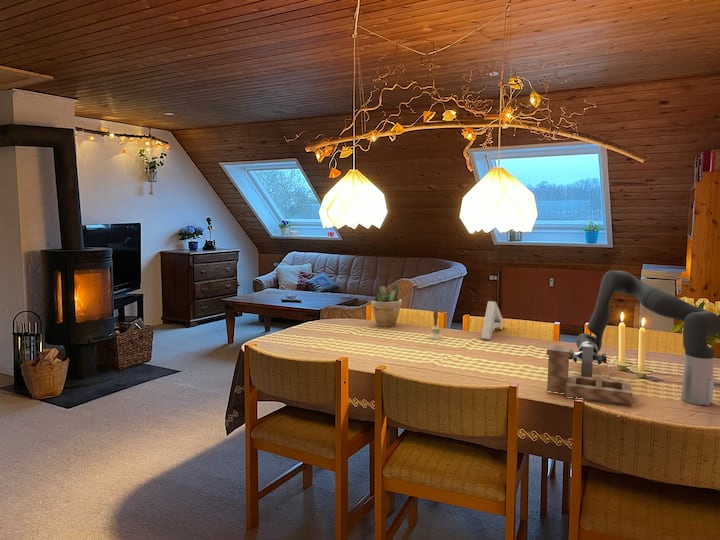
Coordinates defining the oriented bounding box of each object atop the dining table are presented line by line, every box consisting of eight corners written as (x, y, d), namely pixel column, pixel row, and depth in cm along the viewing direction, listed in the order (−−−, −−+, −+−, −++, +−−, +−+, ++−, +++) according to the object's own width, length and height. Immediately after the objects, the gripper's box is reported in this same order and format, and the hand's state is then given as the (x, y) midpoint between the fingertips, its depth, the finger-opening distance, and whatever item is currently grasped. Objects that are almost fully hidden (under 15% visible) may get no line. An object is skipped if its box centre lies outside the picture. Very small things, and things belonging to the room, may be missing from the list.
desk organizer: (629, 394, 211) (632, 351, 209) (631, 406, 198) (634, 360, 196) (547, 384, 223) (549, 343, 221) (544, 395, 210) (546, 351, 208)
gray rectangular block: (591, 383, 225) (593, 344, 223) (591, 386, 220) (593, 347, 219) (581, 381, 227) (582, 343, 225) (580, 385, 222) (582, 346, 220)
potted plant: (388, 330, 320) (388, 287, 318) (364, 325, 333) (364, 284, 330) (407, 325, 334) (407, 284, 331) (383, 320, 346) (383, 281, 344)
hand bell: (445, 339, 299) (445, 309, 298) (430, 339, 298) (431, 310, 296) (439, 335, 307) (440, 307, 306) (425, 336, 306) (426, 307, 304)
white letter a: (498, 359, 319) (488, 338, 295) (491, 358, 321) (480, 337, 297) (505, 324, 328) (495, 301, 305) (497, 323, 330) (488, 301, 307)
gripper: (570, 341, 238) (568, 350, 223) (607, 344, 232) (607, 353, 217) (569, 358, 239) (567, 368, 224) (606, 362, 233) (606, 372, 218)
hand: (587, 361), depth 221 cm, fingers open, 8 cm apart
